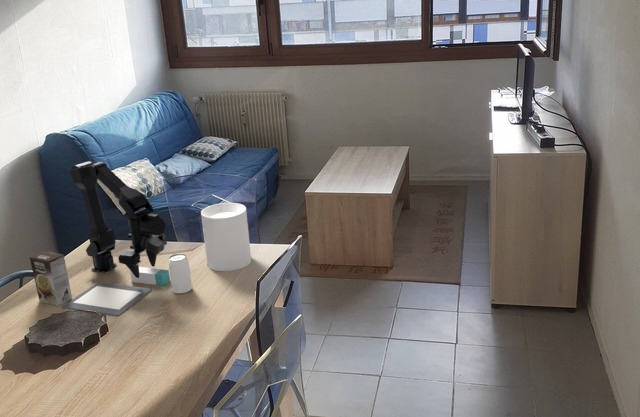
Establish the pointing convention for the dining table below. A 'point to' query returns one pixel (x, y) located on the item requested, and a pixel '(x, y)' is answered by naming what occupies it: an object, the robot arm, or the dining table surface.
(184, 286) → the can
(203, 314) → the dining table surface
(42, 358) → the dining table surface
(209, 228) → the canister
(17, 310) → the dining table surface
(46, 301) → the coffee box
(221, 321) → the dining table surface
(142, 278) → the marker
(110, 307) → the desk mat
